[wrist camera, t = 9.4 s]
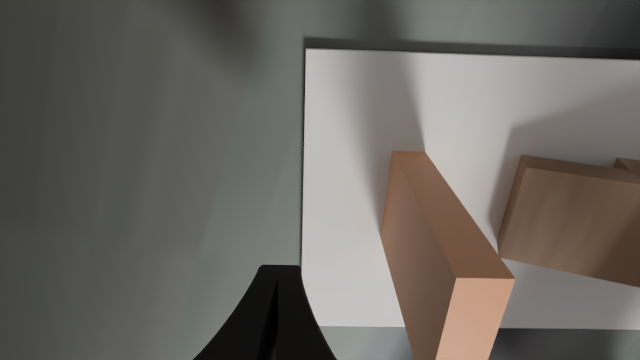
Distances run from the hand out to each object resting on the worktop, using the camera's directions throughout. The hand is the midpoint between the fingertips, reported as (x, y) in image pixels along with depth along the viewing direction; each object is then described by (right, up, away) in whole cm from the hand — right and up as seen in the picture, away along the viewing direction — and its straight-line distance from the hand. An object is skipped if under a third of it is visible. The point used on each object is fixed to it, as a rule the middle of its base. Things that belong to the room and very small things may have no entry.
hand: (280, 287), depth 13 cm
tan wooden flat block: (+6, +3, +6) cm, 9 cm away
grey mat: (+15, +2, +7) cm, 17 cm away
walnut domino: (+11, +2, +6) cm, 12 cm away
